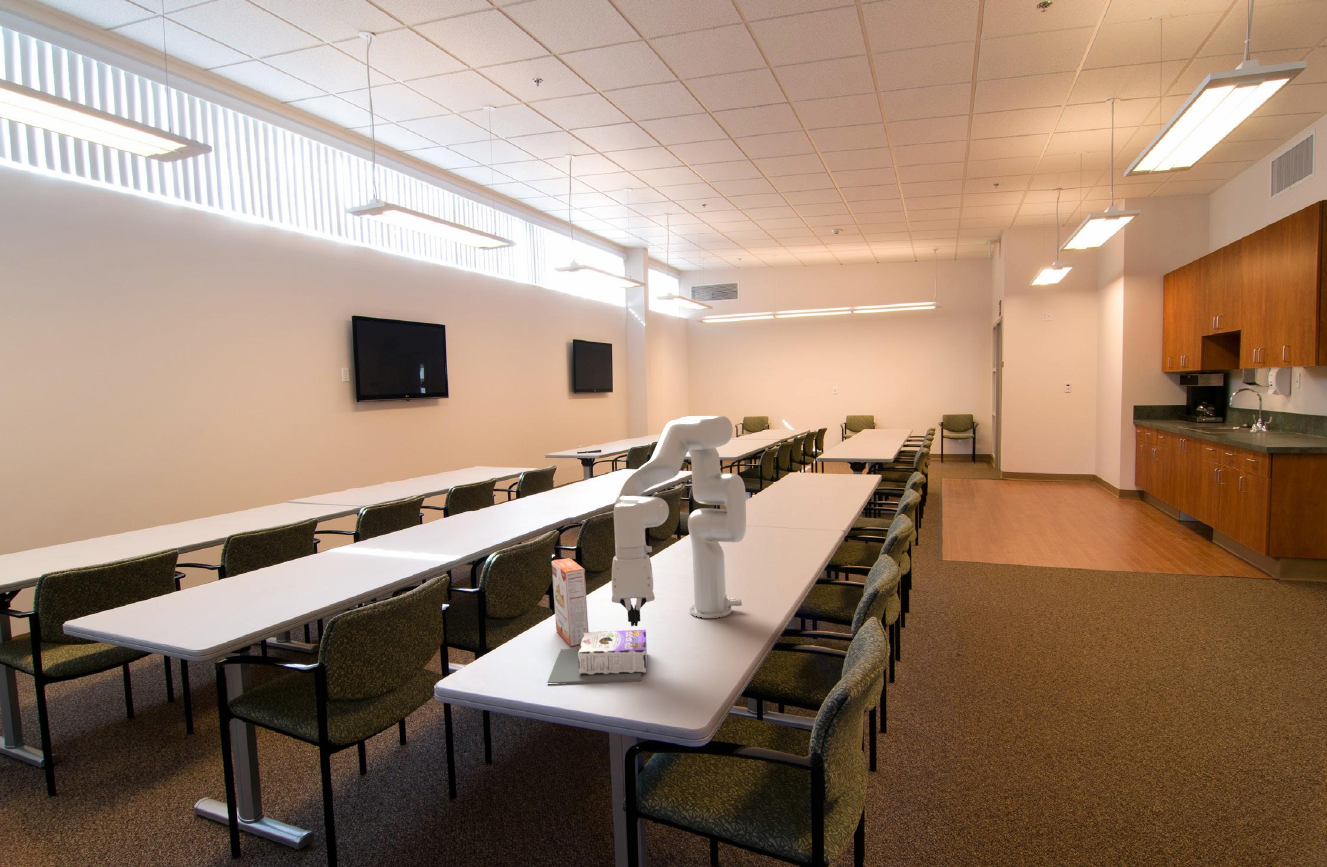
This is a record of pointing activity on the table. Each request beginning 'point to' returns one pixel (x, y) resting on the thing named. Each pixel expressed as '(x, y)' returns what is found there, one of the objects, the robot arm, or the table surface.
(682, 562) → the table surface
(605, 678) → the rubber mat
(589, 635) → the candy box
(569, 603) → the cracker box
